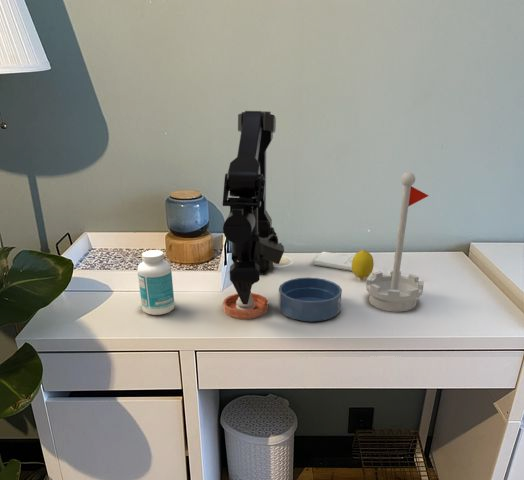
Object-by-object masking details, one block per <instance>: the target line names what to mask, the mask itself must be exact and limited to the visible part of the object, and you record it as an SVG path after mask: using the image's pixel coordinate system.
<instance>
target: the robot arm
mask: <svg viewBox="0 0 524 480" xmlns="http://www.w3.org/2000/svg"><path fill="white" fill-rule="evenodd" d="M276 127H277V117H276V116H275V114H272V112H271V111H267V110H266V111H262V110H245V111H242V112H241V113H238V114H237V132H239V133H240V137H239V142H238V143H239V144H238V149H237V154H236V155H237V156H236V157H235V158H234V159H233V160H231V161H230V162H229V166H228V170H227V172H226V173H224V181H223V194H222V207H229V214H228V216H227V217H226V219H225V221H224V223H223V226H222V232H223V235H224V237H225V238H226V239H227V240H228V241H229V242H231V261H232V262H233V263H232V264H231V265H230V267H229V281H230V282H231V284H232V286H233V287H234V289H235V291H236V294H238V295H239V297H240V299H241V301H242V303H243V304H248V301H249V296H250V292H251V293H252V287H253V285H255V284H256V283H258V282H259V281H260V279H261V278H260V276H261V275H266V274H267V273H269V272H270V271H271V270H272V269H274V268H275V265H274V264H276V265H279V264H280V262H281V260H282V258H283V255H284V252H285V248H284V245H283V244H282V242H279V237H278V235H277V233H276V230H275V228H274V227H273V219H272V216H270V214H269V212H268V210H267V150H268V148H269V146H270V144H271V143H272V140H273V139H274V134H275V133H276V129H277V128H276Z"/></svg>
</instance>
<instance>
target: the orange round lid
mask: <svg viewBox="0 0 524 480" xmlns="http://www.w3.org/2000/svg"><path fill="white" fill-rule="evenodd" d="M251 295H252V297H253V300H254V301H255V304H254V305H255V308H254V309H253V310H238V309H237V308H236V305H237V304H236V301H237V300H238V297H239V295H238V293H234V294H230V295H227V297H225V298H224V299H223V301H222V309H223V312H224V313H225V314H226V315H227V316H229V317H231V318H234V319H239V320H251V319H252V320H253V319H256V318H259V317H262V316H263V315H265V314H266V313H267V311H268V309H269V300H268V299H267V298H266V297H265V296H263V295H261V294H258V293H254V292H251Z"/></svg>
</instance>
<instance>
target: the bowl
mask: <svg viewBox="0 0 524 480" xmlns="http://www.w3.org/2000/svg"><path fill="white" fill-rule="evenodd" d="M342 295H343V289H342V287H341V286H340V285H339V284H338V283H336V282H334V281H331V280H328V279H325V278H320V277H295V278H292V279H289V280H287V281H284V282H282V283H281V284H280V285H279V288H278V305H277V306H278V309H279V311H280V313H282V314H283V315H284V316H286V317H288V318H291V319H292V320H296V321H302V322H323V321H327V320H330V319H332V318H334V317H337V315H339V313H340V312H341V306H342Z"/></svg>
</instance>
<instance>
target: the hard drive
mask: <svg viewBox="0 0 524 480" xmlns="http://www.w3.org/2000/svg"><path fill="white" fill-rule="evenodd" d="M354 256H355V255H348V254H341V253H336V252H329V251H321V252H320V253H319V254H318V255H317V256H316V257H314V259H313V261H312V265H313V266H319V267H325V268H330V269H337V270H343V271H349V272H353V271H352V261H353V258H354Z"/></svg>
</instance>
